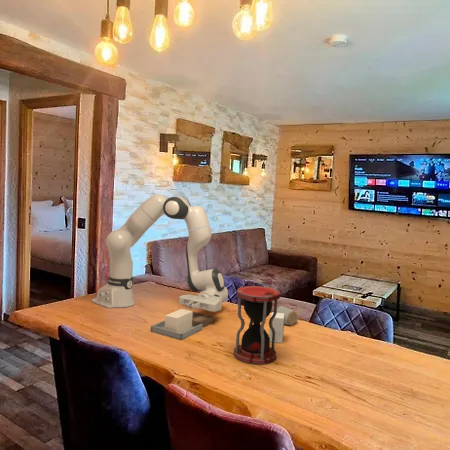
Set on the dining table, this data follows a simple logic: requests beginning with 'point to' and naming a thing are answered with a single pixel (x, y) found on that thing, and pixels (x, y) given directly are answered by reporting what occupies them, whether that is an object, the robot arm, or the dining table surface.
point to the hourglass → (256, 325)
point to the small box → (278, 327)
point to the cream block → (179, 320)
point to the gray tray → (161, 329)
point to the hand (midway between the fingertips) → (189, 306)
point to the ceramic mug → (288, 315)
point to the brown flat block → (201, 319)
